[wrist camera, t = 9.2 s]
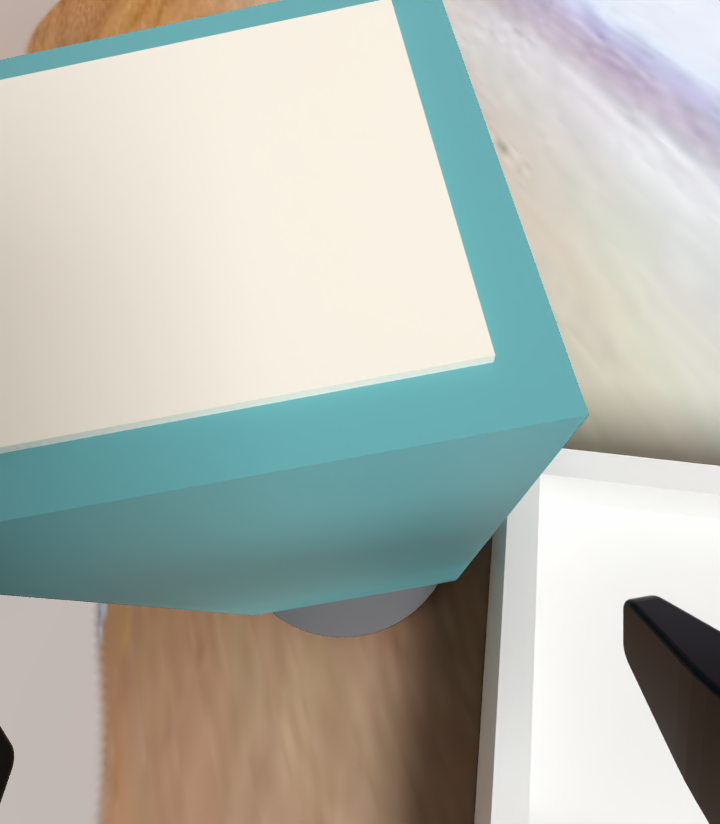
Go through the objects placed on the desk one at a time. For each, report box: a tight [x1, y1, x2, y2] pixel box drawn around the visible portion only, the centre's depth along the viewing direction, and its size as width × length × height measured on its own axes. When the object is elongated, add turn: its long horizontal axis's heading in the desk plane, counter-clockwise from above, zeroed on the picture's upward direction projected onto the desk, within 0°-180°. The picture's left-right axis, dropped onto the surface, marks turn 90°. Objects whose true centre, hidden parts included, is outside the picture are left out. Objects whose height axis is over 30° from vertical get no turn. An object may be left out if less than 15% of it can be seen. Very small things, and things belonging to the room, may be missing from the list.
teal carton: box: [0, 0, 589, 615], centre depth 10 cm, size 5×6×13 cm
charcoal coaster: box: [273, 584, 438, 637], centre depth 17 cm, size 7×7×1 cm
